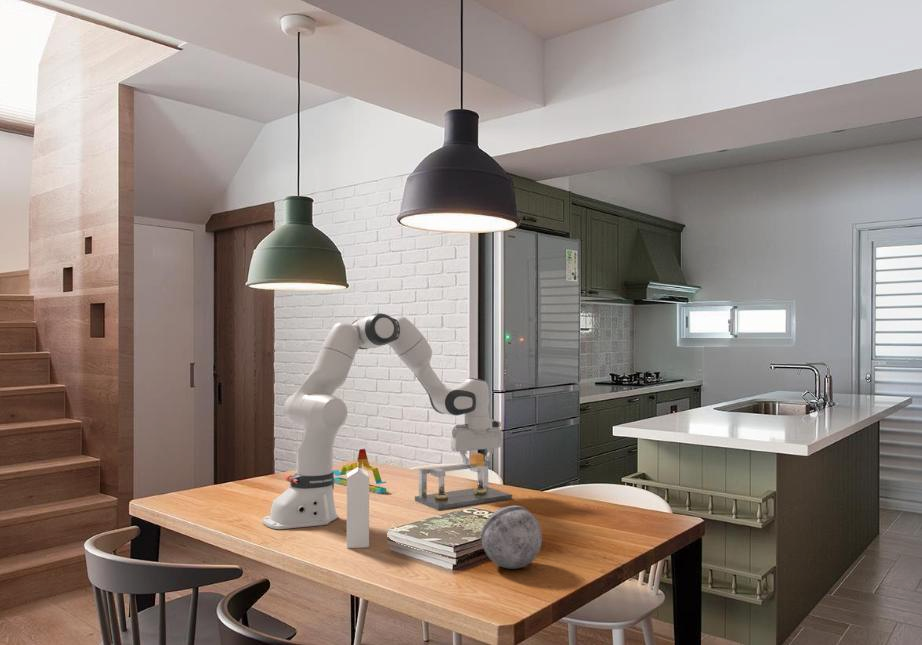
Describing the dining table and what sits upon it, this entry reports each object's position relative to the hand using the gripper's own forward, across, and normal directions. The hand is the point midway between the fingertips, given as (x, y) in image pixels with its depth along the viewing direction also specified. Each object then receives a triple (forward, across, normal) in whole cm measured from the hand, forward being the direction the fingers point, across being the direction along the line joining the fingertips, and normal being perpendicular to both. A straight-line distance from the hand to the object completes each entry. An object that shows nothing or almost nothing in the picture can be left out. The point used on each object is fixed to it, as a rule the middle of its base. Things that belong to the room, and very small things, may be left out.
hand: (477, 462), depth 247 cm
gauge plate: (+12, -7, -2) cm, 14 cm away
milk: (+12, -60, -31) cm, 69 cm away
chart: (+13, -30, +37) cm, 49 cm away
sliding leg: (+9, 0, 0) cm, 9 cm away
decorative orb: (+12, -36, -69) cm, 79 cm away
